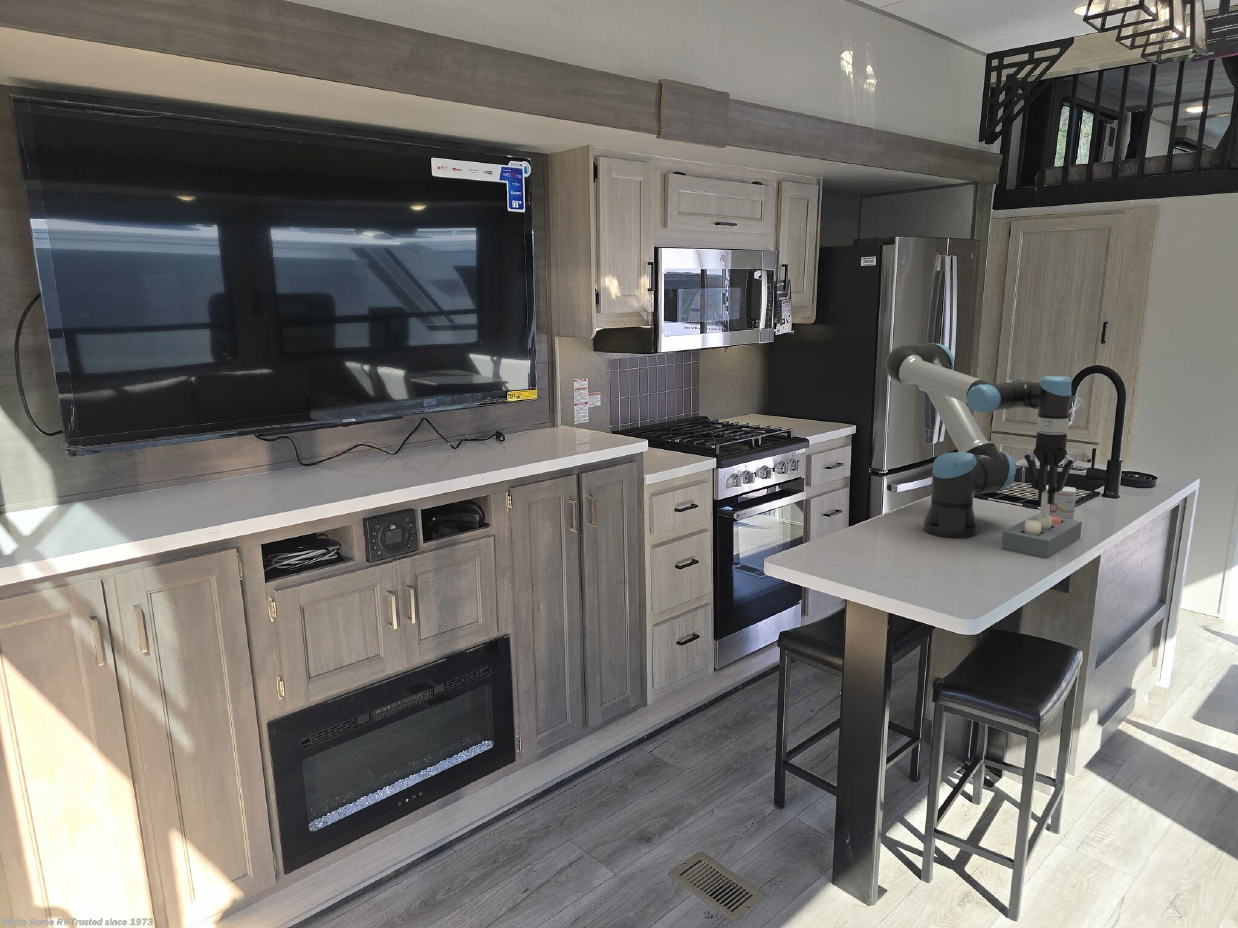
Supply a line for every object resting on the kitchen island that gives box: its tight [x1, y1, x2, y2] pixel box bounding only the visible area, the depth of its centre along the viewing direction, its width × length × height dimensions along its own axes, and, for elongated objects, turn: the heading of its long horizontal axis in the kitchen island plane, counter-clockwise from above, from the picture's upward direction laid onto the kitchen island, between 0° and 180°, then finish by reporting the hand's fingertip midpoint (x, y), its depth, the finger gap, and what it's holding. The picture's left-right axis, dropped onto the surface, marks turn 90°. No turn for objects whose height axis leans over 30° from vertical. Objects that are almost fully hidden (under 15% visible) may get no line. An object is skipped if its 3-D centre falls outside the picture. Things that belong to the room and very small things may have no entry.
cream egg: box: [1035, 514, 1052, 530], centre depth 223 cm, size 4×4×5 cm
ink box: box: [1045, 484, 1077, 520], centre depth 240 cm, size 8×5×12 cm, turn 62°
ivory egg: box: [1024, 519, 1042, 536], centre depth 219 cm, size 4×4×5 cm
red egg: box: [1051, 516, 1061, 524], centre depth 229 cm, size 4×4×5 cm
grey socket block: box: [1001, 513, 1083, 559], centre depth 224 cm, size 25×12×5 cm, turn 132°
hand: (1044, 514), depth 223 cm, fingers closed
